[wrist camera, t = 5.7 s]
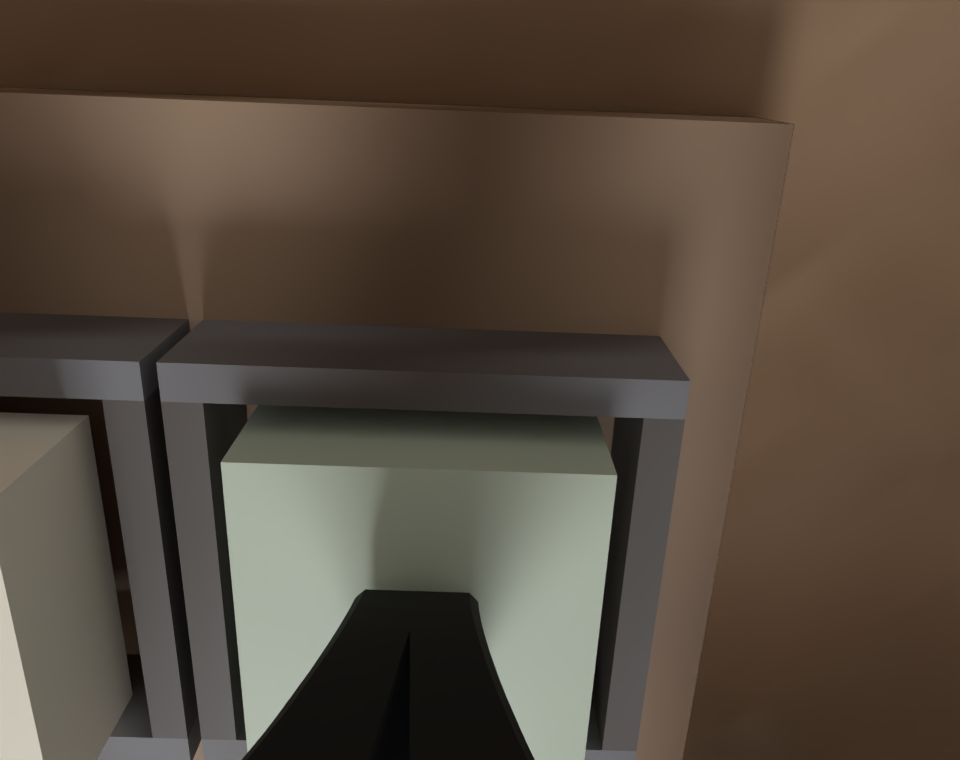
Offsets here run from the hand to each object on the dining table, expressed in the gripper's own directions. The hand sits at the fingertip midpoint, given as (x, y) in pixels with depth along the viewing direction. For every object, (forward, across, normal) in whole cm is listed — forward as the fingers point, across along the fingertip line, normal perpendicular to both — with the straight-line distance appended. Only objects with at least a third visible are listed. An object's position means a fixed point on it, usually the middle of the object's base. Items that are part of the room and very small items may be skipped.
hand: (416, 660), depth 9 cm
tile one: (+3, 0, 0) cm, 3 cm away
